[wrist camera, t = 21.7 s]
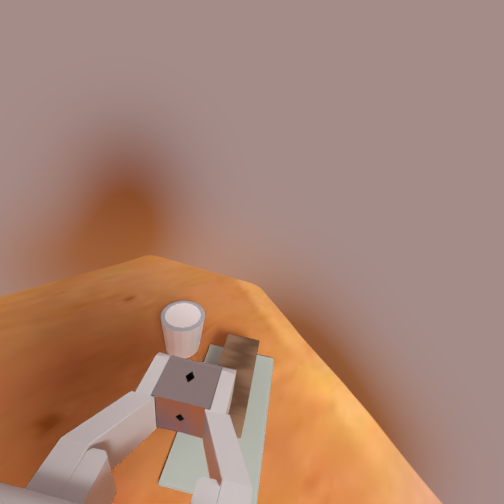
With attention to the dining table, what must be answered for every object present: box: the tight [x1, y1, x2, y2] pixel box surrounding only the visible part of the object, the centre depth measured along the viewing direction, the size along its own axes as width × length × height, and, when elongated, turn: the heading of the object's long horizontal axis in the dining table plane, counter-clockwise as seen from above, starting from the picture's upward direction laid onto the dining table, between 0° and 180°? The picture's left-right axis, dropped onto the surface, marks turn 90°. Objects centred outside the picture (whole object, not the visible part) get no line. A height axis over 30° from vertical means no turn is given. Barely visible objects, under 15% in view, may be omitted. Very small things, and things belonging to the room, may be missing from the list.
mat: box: [158, 344, 274, 504], centre depth 40 cm, size 11×20×1 cm, turn 170°
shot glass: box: [160, 301, 205, 358], centre depth 46 cm, size 7×7×7 cm
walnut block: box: [218, 334, 259, 439], centre depth 40 cm, size 5×5×12 cm
